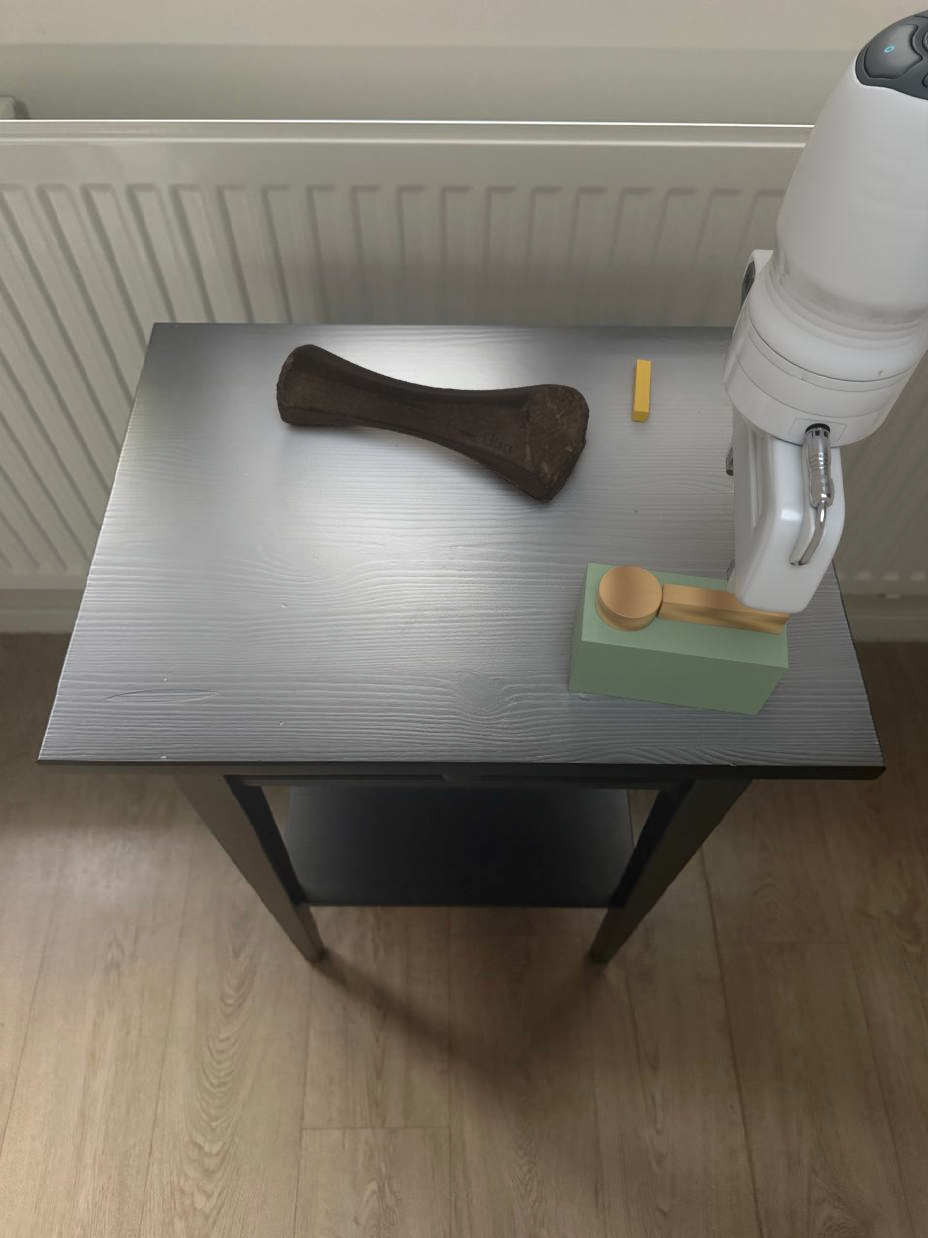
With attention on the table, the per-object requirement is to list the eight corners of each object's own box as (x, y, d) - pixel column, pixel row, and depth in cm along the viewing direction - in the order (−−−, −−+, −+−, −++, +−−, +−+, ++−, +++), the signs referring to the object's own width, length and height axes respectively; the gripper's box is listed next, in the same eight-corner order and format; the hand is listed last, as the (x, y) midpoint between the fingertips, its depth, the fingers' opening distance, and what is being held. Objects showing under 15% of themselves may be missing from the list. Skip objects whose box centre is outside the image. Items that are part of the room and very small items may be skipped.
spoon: (777, 599, 71) (787, 581, 69) (779, 652, 68) (790, 635, 66) (597, 576, 71) (602, 558, 69) (593, 627, 69) (598, 610, 67)
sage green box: (754, 640, 78) (784, 587, 71) (756, 716, 74) (788, 667, 68) (574, 616, 79) (587, 562, 72) (567, 690, 75) (581, 640, 68)
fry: (648, 371, 94) (651, 360, 93) (646, 422, 91) (648, 412, 89) (634, 369, 94) (637, 358, 93) (631, 420, 91) (634, 410, 89)
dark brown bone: (585, 481, 89) (313, 437, 95) (600, 370, 84) (311, 331, 90) (562, 523, 80) (263, 471, 86) (576, 402, 75) (257, 356, 81)
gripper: (898, 530, 43) (795, 673, 55) (861, 245, 54) (781, 416, 65) (760, 512, 43) (687, 658, 55) (750, 231, 54) (690, 404, 66)
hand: (738, 524), depth 60 cm, fingers open, 8 cm apart
